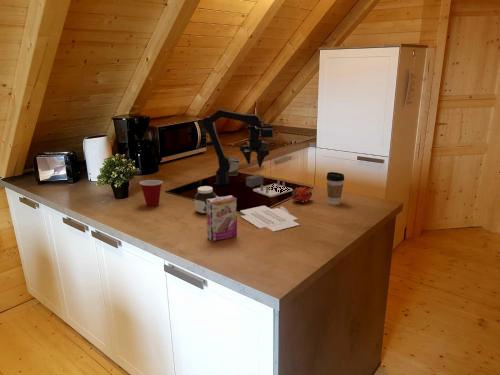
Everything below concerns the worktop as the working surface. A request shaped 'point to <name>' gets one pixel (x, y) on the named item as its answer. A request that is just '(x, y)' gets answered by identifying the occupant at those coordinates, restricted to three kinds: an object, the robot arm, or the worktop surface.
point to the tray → (272, 193)
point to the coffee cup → (334, 187)
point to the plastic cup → (151, 192)
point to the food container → (233, 167)
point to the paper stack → (269, 218)
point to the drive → (254, 180)
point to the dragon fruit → (301, 194)
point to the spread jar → (203, 199)
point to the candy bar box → (221, 218)
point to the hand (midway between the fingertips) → (254, 165)
